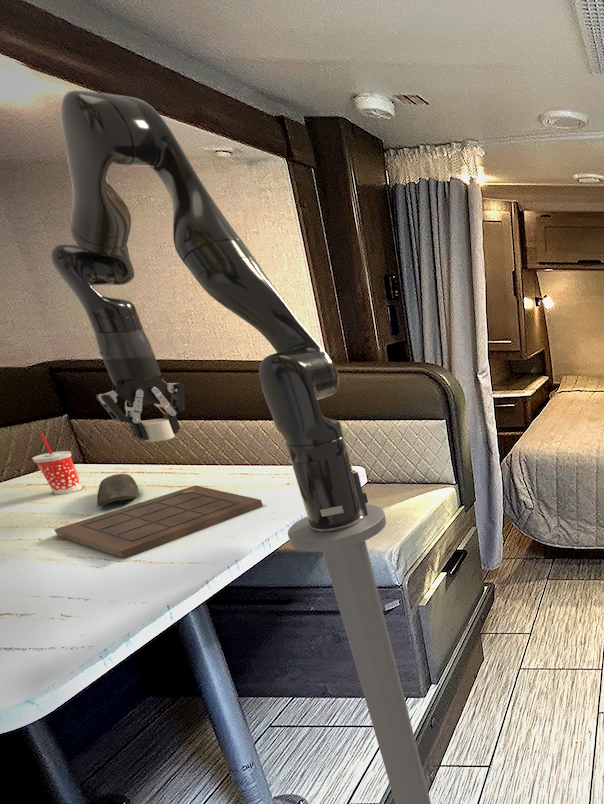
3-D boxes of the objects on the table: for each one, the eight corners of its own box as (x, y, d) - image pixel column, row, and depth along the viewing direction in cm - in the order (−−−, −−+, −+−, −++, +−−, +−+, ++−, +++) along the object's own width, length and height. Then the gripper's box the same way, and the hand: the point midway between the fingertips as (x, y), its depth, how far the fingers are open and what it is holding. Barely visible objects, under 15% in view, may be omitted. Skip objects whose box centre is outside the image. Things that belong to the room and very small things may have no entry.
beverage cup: (58, 488, 122) (31, 432, 116) (91, 483, 124) (66, 429, 119) (43, 497, 116) (14, 439, 111) (78, 492, 119) (52, 435, 114)
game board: (197, 491, 118) (195, 484, 118) (263, 506, 109) (260, 499, 109) (57, 536, 98) (53, 528, 97) (124, 558, 89) (120, 550, 88)
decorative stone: (139, 504, 112) (132, 487, 110) (99, 513, 108) (90, 495, 106) (141, 483, 123) (134, 467, 122) (104, 490, 119) (97, 474, 118)
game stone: (166, 434, 109) (160, 417, 108) (179, 436, 108) (173, 419, 106) (139, 440, 105) (132, 423, 104) (152, 443, 104) (146, 425, 102)
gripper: (91, 360, 92) (127, 448, 99) (181, 350, 105) (208, 429, 111) (70, 358, 95) (106, 444, 101) (160, 349, 107) (187, 426, 114)
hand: (159, 436), depth 106 cm, fingers closed on game stone, 4 cm apart
